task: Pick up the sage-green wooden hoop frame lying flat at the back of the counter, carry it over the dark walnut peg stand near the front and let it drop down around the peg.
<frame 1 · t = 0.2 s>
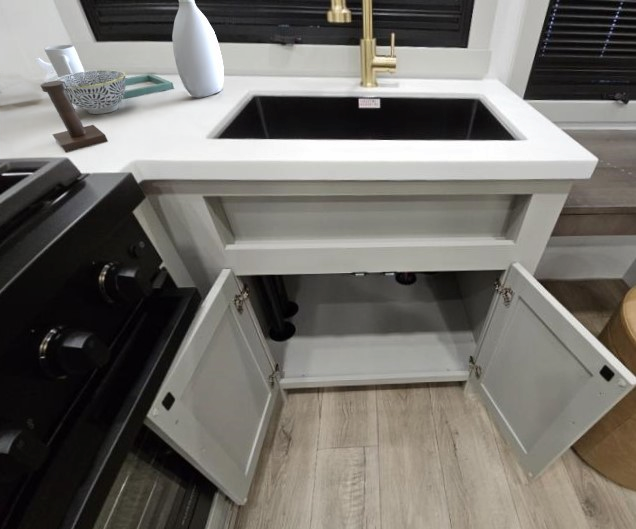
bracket: (62, 84, 104), on the countertop
peg stand: (82, 141, 69), on the countertop
soap bottle: (205, 94, 94), on the countertop
frame: (137, 88, 98), on the countertop
bowl: (103, 110, 84), on the countertop
mug: (83, 99, 92), on the countertop
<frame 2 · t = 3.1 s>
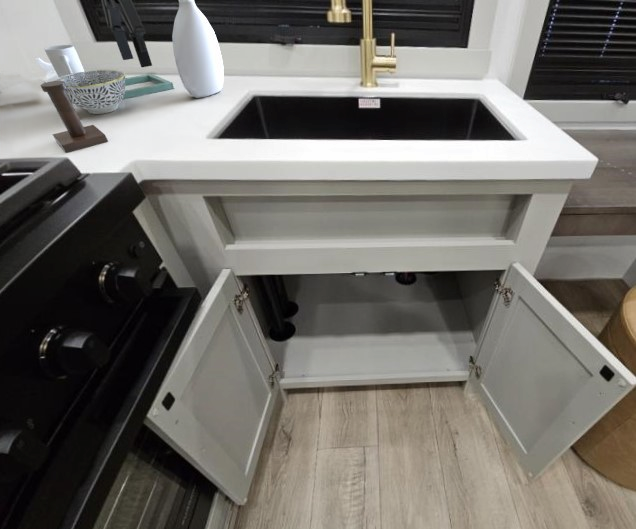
hand: (137, 62, 89), 8 cm above the countertop, tool pointing down, fingers open, 13 cm apart
nothing on the countertop moved.
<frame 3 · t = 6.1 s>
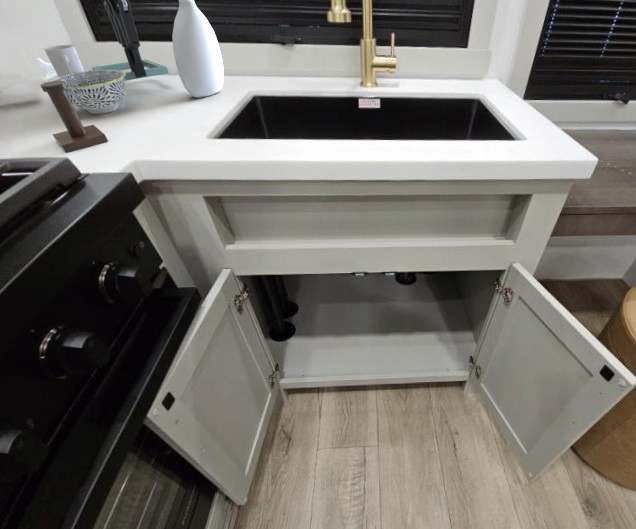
hand: (139, 75, 91), 5 cm above the countertop, tool pointing down, fingers closed on frame, 2 cm apart
frame: (131, 73, 96), point 4 cm above the countertop, touching gripper
everything else where it was.
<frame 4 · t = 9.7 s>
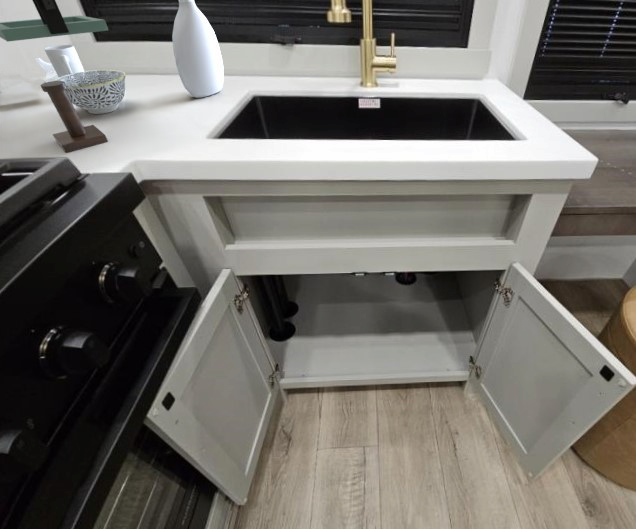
hand: (58, 32, 57), 19 cm above the countertop, tool pointing down, fingers closed on frame, 2 cm apart
frame: (50, 32, 62), point 18 cm above the countertop, touching gripper
everything else where it was.
when the fingers open (9 cm above the countertop, at t = 13.3 s): frame drops 8 cm, on the countertop.
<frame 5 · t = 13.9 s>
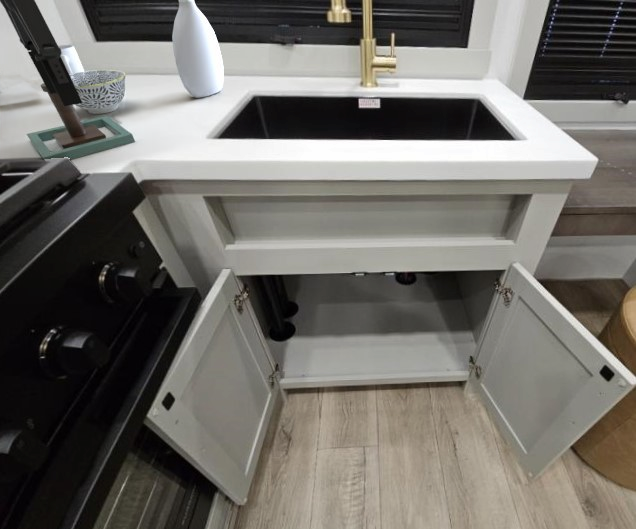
hand: (65, 97, 57), 10 cm above the countertop, tool pointing down, fingers open, 10 cm apart
frame: (82, 141, 68), on the countertop
everything else where it was.
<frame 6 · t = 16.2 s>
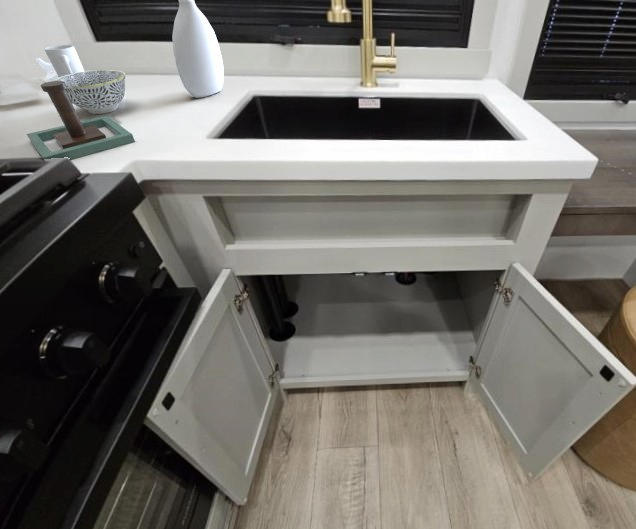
nothing on the countertop moved.
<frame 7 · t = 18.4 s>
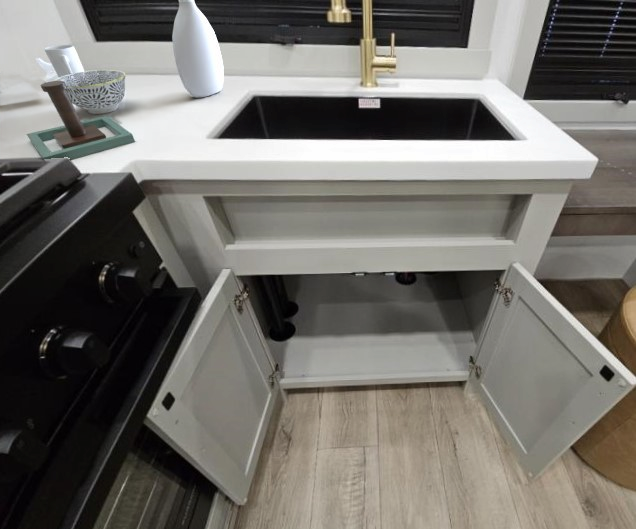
nothing on the countertop moved.
at the end: frame 0.2 cm off-centre on the peg stand, point 0.0 cm above the peg stand's base; the gripper is holding nothing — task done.
